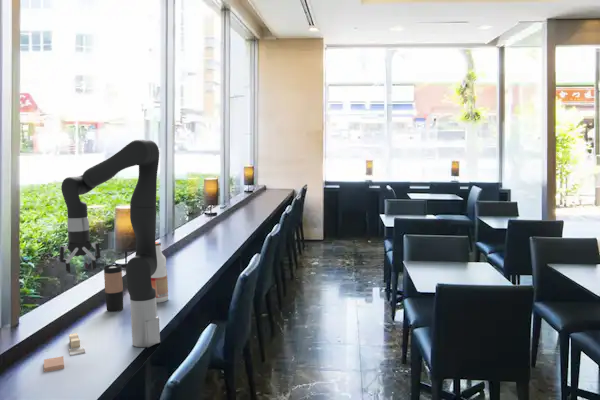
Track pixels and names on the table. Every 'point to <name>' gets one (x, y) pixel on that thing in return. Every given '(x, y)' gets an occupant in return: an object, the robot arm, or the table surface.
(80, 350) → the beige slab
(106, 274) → the travel mug
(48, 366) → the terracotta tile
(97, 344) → the table surface
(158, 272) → the fruit juice
